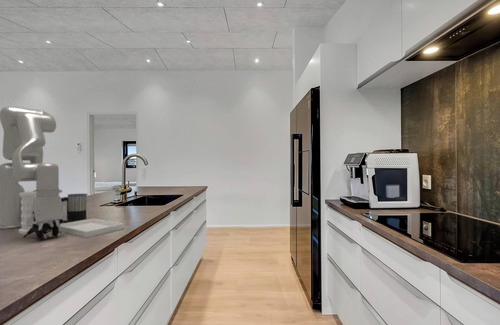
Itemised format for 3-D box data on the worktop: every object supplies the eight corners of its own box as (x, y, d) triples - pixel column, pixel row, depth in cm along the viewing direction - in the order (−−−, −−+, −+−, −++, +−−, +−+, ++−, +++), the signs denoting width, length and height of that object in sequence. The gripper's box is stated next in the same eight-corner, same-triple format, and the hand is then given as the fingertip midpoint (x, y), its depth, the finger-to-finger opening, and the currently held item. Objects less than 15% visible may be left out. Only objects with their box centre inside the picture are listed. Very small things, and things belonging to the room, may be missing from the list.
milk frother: (85, 219, 156) (85, 192, 156) (92, 223, 145) (92, 195, 145) (54, 223, 147) (54, 194, 147) (59, 228, 135) (59, 197, 135)
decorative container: (47, 226, 138) (47, 190, 138) (52, 230, 129) (52, 192, 129) (17, 231, 129) (17, 192, 129) (20, 235, 121) (20, 194, 121)
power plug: (28, 233, 121) (49, 217, 120) (38, 248, 120) (59, 232, 119) (16, 237, 115) (38, 220, 114) (26, 252, 114) (48, 235, 113)
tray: (54, 230, 130) (54, 225, 130) (92, 223, 146) (92, 218, 146) (86, 237, 117) (86, 231, 117) (124, 228, 133) (124, 223, 133)
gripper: (64, 191, 125) (65, 232, 124) (18, 195, 110) (18, 241, 110) (74, 192, 121) (74, 234, 121) (27, 196, 106) (27, 244, 106)
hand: (47, 237), depth 115 cm, fingers closed on power plug, 4 cm apart
